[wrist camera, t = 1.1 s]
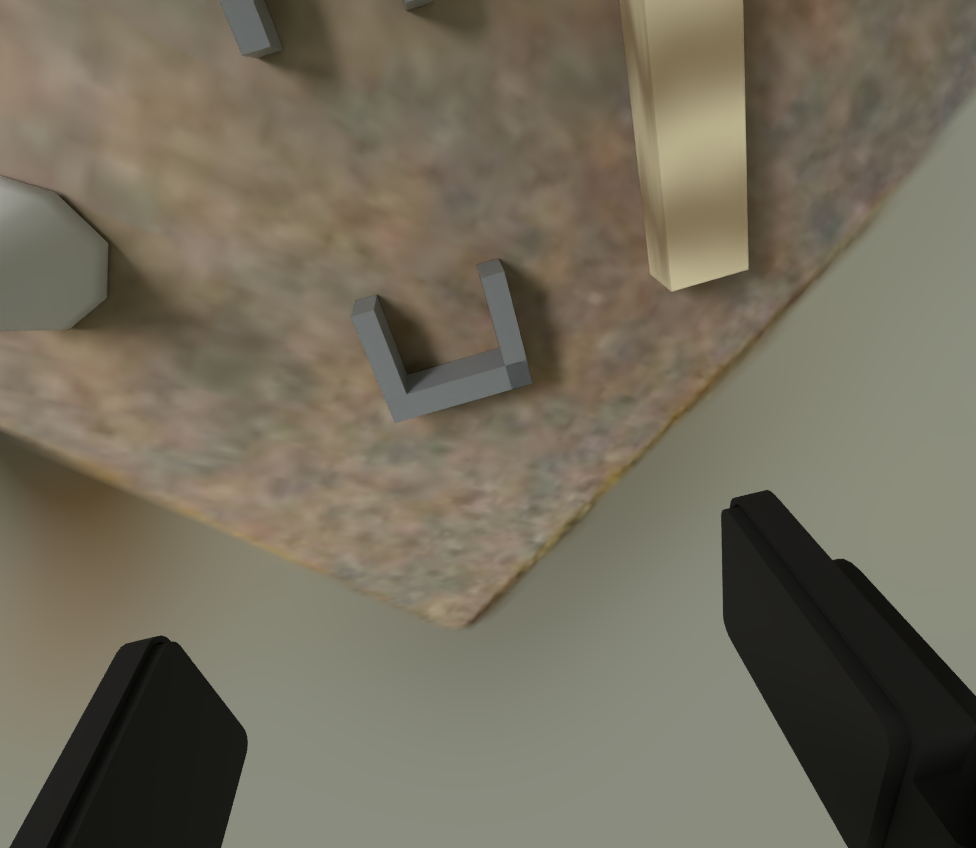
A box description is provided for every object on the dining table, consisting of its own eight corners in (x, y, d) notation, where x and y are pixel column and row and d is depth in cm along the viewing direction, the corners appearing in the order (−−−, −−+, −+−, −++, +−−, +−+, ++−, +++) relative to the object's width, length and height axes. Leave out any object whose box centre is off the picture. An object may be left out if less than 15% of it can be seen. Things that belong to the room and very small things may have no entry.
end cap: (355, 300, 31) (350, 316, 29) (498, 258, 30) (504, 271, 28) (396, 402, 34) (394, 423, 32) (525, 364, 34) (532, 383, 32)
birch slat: (590, -227, 22) (618, -277, 19) (692, -261, 22) (736, -316, 19) (647, 272, 32) (671, 291, 29) (717, 252, 32) (748, 269, 29)
